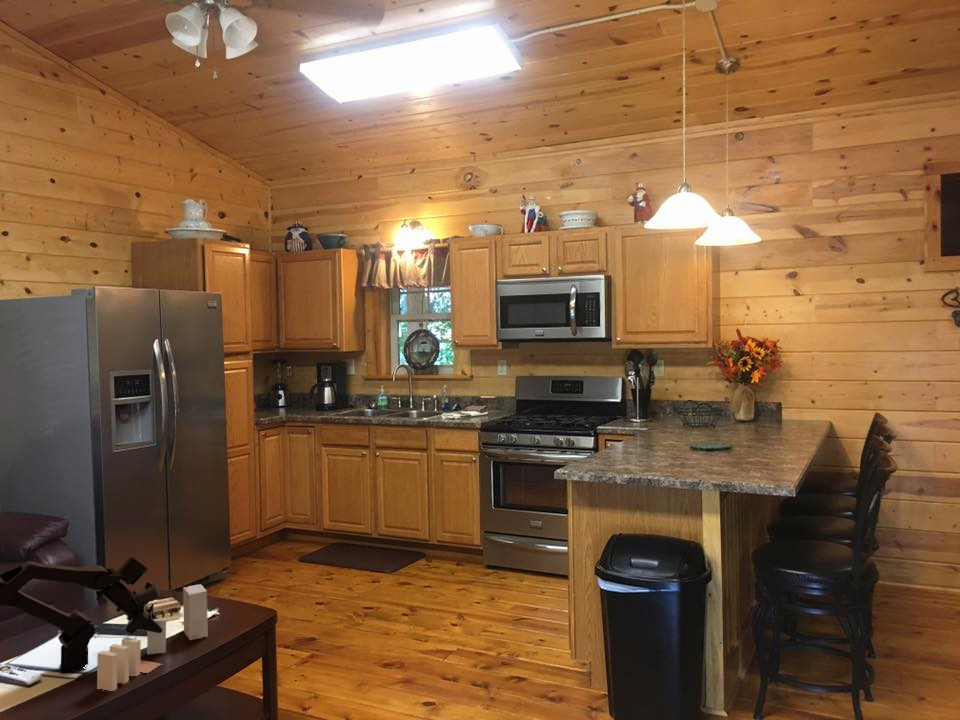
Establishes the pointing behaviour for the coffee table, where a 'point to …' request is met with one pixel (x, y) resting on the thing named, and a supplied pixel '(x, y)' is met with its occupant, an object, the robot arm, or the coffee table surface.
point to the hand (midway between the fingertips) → (161, 630)
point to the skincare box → (195, 612)
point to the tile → (148, 666)
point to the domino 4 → (157, 639)
